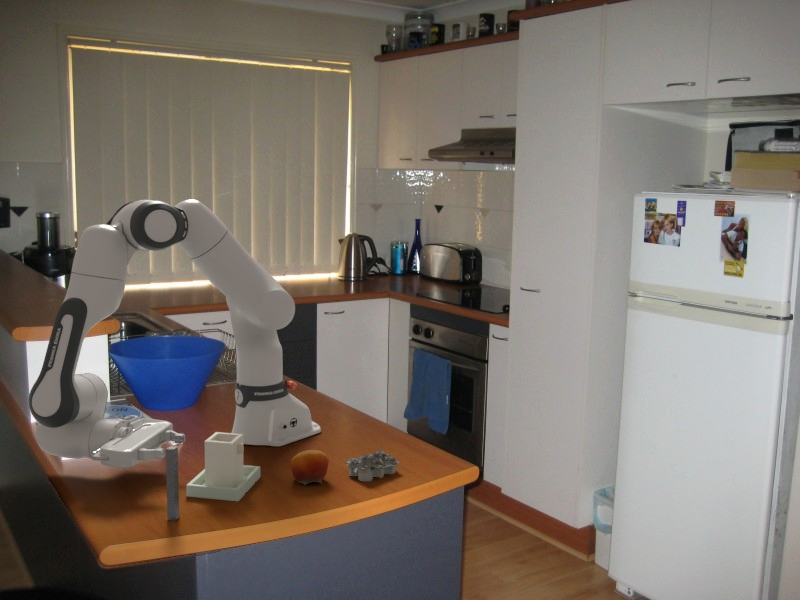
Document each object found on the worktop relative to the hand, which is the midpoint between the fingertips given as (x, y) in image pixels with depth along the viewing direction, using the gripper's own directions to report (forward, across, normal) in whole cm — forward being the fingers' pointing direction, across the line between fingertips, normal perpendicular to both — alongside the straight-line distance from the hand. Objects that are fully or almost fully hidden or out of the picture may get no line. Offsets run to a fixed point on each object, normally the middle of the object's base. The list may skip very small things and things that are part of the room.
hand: (174, 446), depth 167 cm
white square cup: (+11, 0, +7) cm, 13 cm away
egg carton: (+39, +14, +8) cm, 43 cm away
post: (+7, -16, +8) cm, 20 cm away
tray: (+11, 0, +8) cm, 14 cm away
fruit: (+27, +7, +8) cm, 29 cm away
